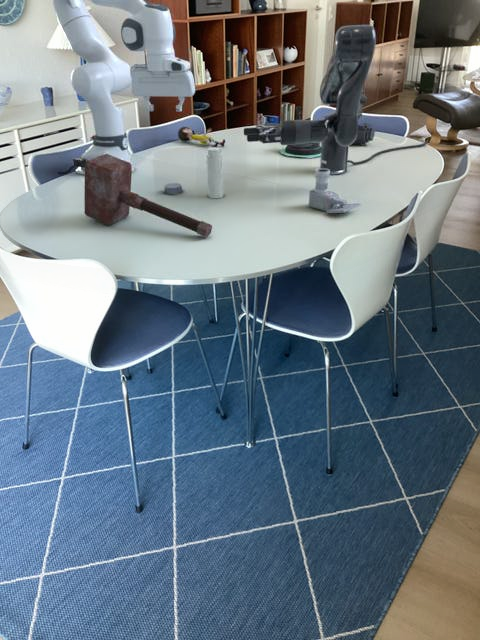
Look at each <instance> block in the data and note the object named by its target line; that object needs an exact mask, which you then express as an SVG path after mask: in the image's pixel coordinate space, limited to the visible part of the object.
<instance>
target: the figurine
mask: <svg viewBox="0 0 480 640" xmlns="http://www.w3.org/2000/svg"><path fill="white" fill-rule="evenodd" d="M210 132H212V128H209V129H207V130H206V132H205V133H204V134H202V135H201V134H198V133H195V130H193V129H191V128H189V127H188V126H182V127H180V128H179V129H178V132H177V137H178V139H179V141H182V142H191V141H192V140H194V141H198V142H200V143H201V144H203V145H204V146H210V147H218V145H219V146H221V147H225V144H226V139H222V141H218V140H216V139H215V138H213V137H212V136H207V135H208V134H209V133H210Z"/></svg>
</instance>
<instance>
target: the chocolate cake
mask: <svg viewBox="0 0 480 640" xmlns="http://www.w3.org/2000/svg"><path fill="white" fill-rule="evenodd" d="M320 143H321V142H318V143H305V144H295V145H285V147H283V148H281V149H280V150H279V153H280V154H282V155H285V156H289V157H296V158H297V157H298V158H307V159H309V158H310V159H311V158H313V159H314V158H317V157H321V144H320Z"/></svg>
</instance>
